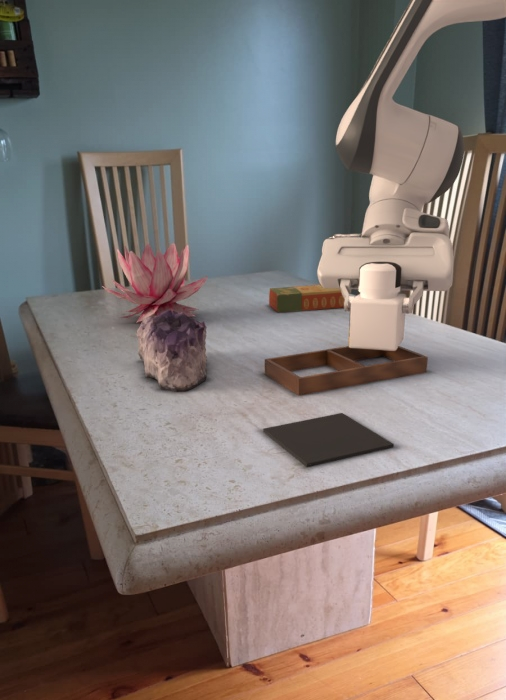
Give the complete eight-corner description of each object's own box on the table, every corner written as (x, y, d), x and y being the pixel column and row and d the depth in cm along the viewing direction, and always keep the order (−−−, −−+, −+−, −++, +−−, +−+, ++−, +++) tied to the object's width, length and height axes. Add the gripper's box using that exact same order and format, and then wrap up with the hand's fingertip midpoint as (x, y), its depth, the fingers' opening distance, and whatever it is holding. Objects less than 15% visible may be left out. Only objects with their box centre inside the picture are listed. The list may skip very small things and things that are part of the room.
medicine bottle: (358, 337, 99) (361, 259, 94) (403, 339, 97) (409, 260, 92) (347, 348, 93) (350, 265, 88) (396, 351, 91) (401, 266, 86)
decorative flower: (100, 334, 123) (89, 254, 117) (118, 311, 142) (109, 242, 136) (208, 329, 123) (203, 250, 117) (211, 308, 143) (207, 239, 136)
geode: (230, 387, 90) (218, 321, 86) (152, 406, 89) (135, 339, 84) (206, 347, 108) (194, 290, 103) (140, 362, 106) (126, 305, 102)
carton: (347, 308, 138) (348, 288, 136) (276, 313, 135) (276, 293, 134) (336, 301, 145) (336, 282, 143) (268, 305, 143) (268, 286, 141)
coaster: (341, 416, 79) (342, 412, 78) (393, 448, 69) (393, 443, 69) (263, 432, 75) (263, 428, 74) (306, 468, 65) (307, 463, 65)
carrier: (383, 355, 103) (384, 340, 102) (426, 372, 94) (428, 356, 93) (264, 374, 95) (264, 358, 94) (298, 396, 86) (298, 378, 85)
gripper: (321, 221, 97) (306, 296, 93) (459, 219, 91) (449, 300, 86) (328, 247, 103) (313, 319, 98) (457, 247, 96) (447, 324, 92)
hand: (377, 310), depth 92 cm, fingers closed on medicine bottle, 7 cm apart
